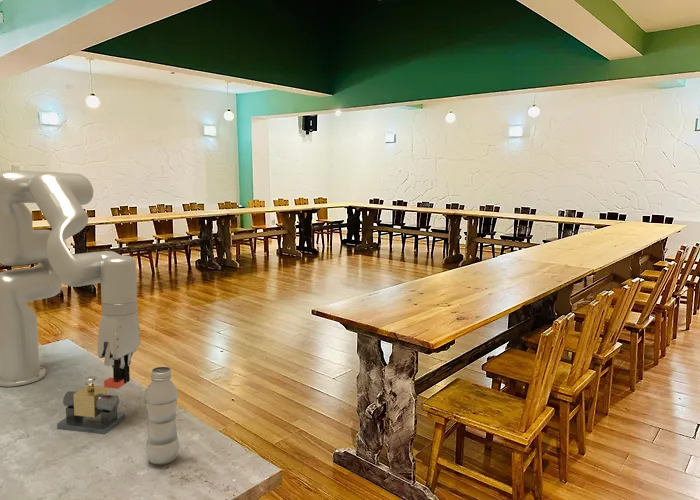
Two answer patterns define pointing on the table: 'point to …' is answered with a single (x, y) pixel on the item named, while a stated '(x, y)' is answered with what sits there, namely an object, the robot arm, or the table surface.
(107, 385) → the lever
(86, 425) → the valve
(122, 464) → the table surface
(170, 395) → the plastic bottle
